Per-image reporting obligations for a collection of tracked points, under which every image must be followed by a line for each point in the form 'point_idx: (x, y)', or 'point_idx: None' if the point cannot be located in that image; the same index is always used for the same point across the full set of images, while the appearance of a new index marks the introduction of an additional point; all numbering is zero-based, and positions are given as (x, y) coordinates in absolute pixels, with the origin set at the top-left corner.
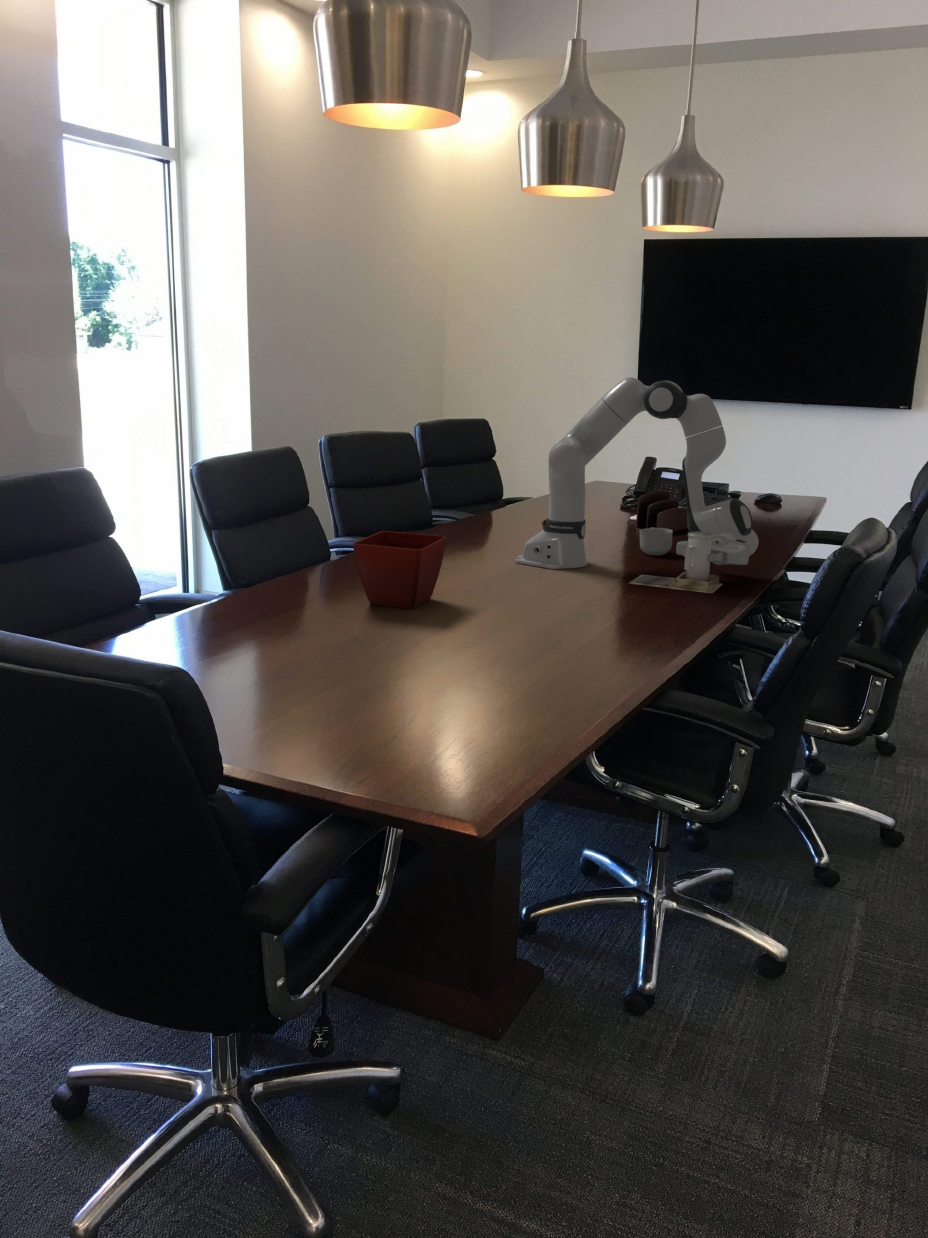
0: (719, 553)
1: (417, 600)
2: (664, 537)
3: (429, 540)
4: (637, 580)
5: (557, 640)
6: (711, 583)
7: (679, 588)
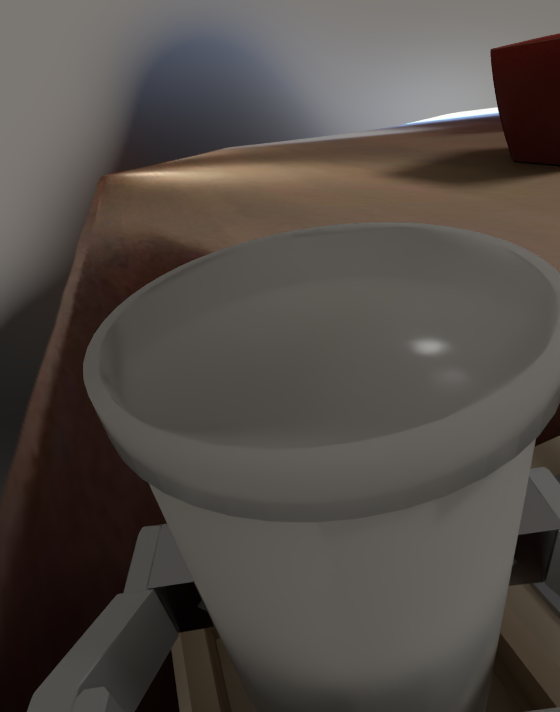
0: (74, 667)
1: (515, 148)
2: None
3: None
4: None
5: (257, 216)
6: None
7: None
